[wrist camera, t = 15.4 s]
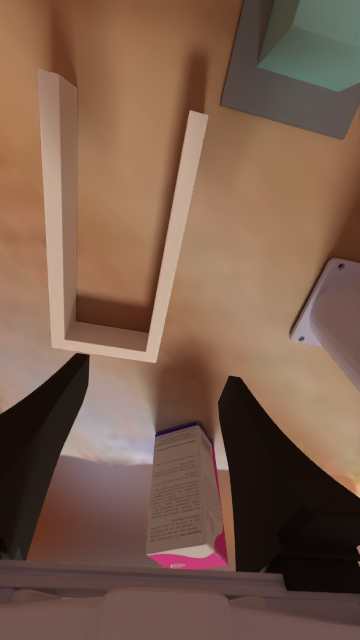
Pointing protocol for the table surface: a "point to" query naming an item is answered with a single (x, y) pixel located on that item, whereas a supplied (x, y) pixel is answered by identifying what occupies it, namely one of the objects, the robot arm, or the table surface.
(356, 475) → the table surface
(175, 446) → the supplement box
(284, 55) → the block
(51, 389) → the robot arm
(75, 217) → the frame
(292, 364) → the table surface
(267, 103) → the mat
